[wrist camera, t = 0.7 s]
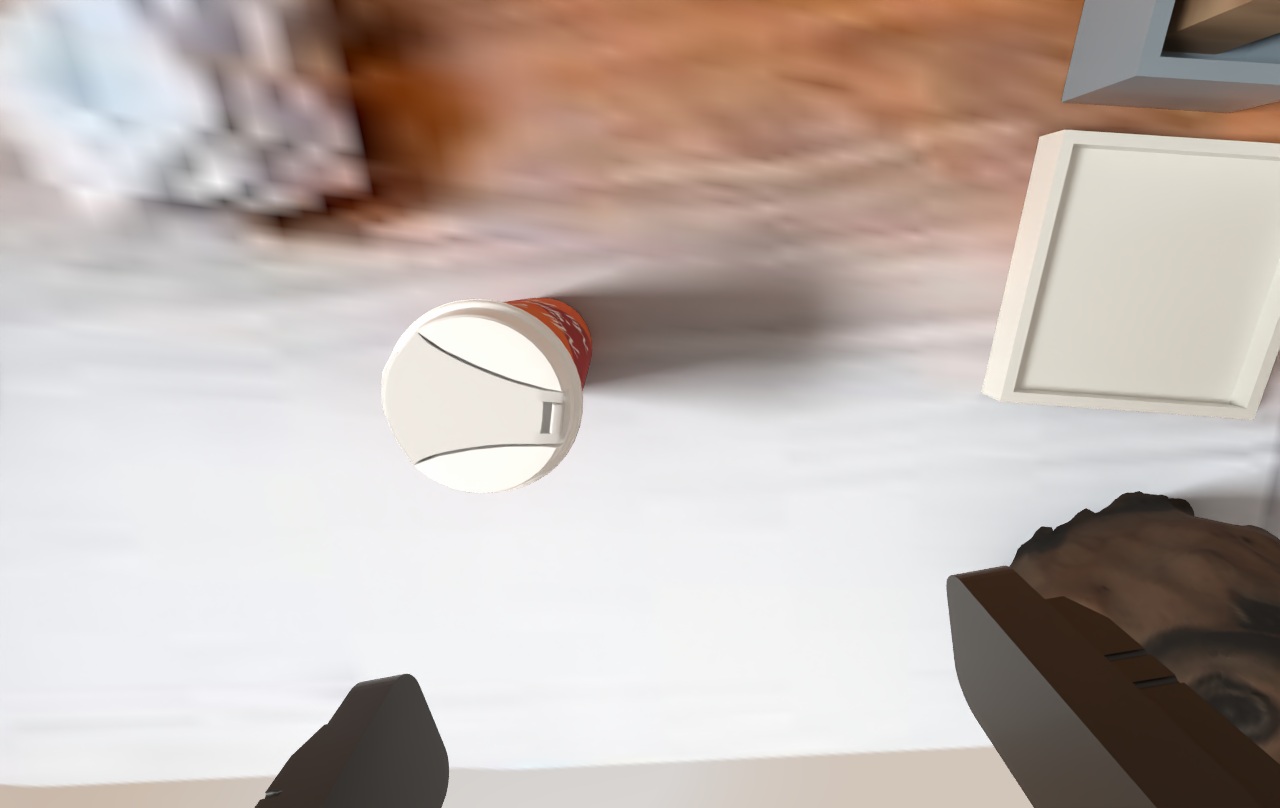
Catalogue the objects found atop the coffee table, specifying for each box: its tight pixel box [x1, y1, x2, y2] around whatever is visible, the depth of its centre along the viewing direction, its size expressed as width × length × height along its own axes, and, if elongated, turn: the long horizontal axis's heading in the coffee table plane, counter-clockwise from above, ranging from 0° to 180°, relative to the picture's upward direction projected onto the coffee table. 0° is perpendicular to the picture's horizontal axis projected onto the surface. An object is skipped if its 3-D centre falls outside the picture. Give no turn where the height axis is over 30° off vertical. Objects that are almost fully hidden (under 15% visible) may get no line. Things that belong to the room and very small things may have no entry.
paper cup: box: [381, 298, 592, 493], centre depth 28 cm, size 8×8×14 cm
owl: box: [1010, 491, 1280, 764], centre depth 28 cm, size 13×13×20 cm
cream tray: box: [981, 130, 1280, 420], centre depth 32 cm, size 14×14×2 cm
